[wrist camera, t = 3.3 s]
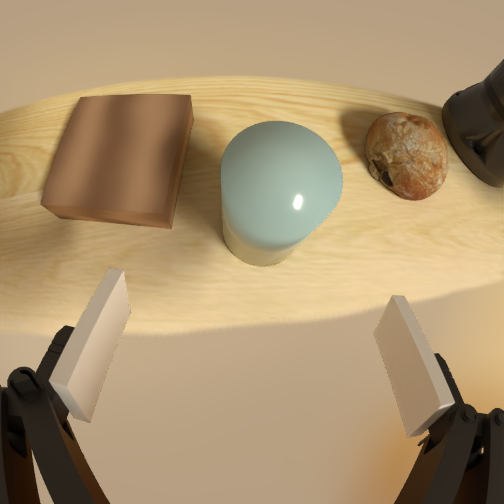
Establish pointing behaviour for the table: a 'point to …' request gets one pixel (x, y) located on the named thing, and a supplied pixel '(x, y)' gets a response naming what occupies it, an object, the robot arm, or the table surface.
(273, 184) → the dome-topped cylinder
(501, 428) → the robot arm
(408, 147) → the bread roll
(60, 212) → the pedestal
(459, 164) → the table surface
